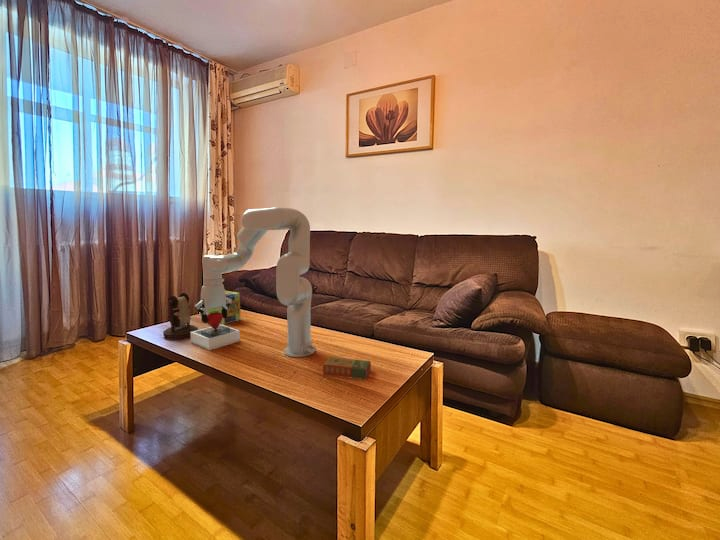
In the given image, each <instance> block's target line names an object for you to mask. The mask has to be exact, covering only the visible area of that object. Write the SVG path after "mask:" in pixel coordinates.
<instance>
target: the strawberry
mask: <svg viewBox="0 0 720 540" xmlns="http://www.w3.org/2000/svg"><path fill="white" fill-rule="evenodd" d="M222 318H223V316H222V314H221V313H220V312H219V311H211V312H210V314H208V315H207V323H206V324H208V325H209V327H213V328H214V329H217V328H218V326H219V325H221V321H222Z"/></svg>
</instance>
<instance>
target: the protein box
mask: <svg viewBox="0 0 720 540" xmlns="http://www.w3.org/2000/svg"><path fill="white" fill-rule="evenodd" d="M225 294H226V297H228V298H230V299H232V301H231V303H230V306H229V307H228V310H227V318H226V319H225V318H222V321H221V323H222V325H224V324H225V325H227V324H233V323H235V321H236V322H239V320H240V321H241V320H242V319H241V318H242V317H241V298H240V297H241V296H240V292H236V291H232V290H231V291H229V290H225ZM226 303H227V300H226ZM222 309H223V308H222V307H217V308H213V309H208V311H207V312H206V314H207V315H208V314H210V312H211V311H219V312H220V313H221V314H222V312H221V310H222ZM221 323H220V324H221Z"/></svg>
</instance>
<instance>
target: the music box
mask: <svg viewBox="0 0 720 540" xmlns="http://www.w3.org/2000/svg"><path fill="white" fill-rule="evenodd" d="M189 302H190V296H189V295H188V294H187V293H185V292H182V293H181V294H179V296H178V297H177V296H175V295H171V296H169V298H168V299H167V303H168V305H169V311H168V314H169V316H170V317H169V324H170V327H168V328H166V329H165V330H164V331H163V337H164V336H166V337H165V338H180V340H183V338H184V337H187V336H191V333H190V332H193V331H197V330H199V328H198V326H196V325H193V324H191V318H192V317H191V314H190V308H191V306H190V305H189V304H190V303H189ZM175 313H179V316H178V315H177V314H175Z"/></svg>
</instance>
